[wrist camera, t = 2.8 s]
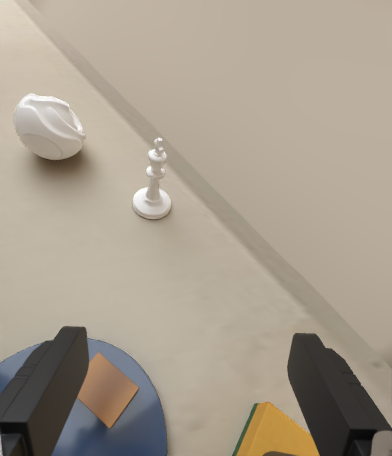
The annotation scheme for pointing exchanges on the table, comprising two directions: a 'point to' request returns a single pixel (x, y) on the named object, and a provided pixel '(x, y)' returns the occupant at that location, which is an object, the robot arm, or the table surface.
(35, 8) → the table surface
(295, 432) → the dish sponge
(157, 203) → the chess piece
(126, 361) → the plate
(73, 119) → the white round lump
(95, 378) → the orange brown rectangular block
